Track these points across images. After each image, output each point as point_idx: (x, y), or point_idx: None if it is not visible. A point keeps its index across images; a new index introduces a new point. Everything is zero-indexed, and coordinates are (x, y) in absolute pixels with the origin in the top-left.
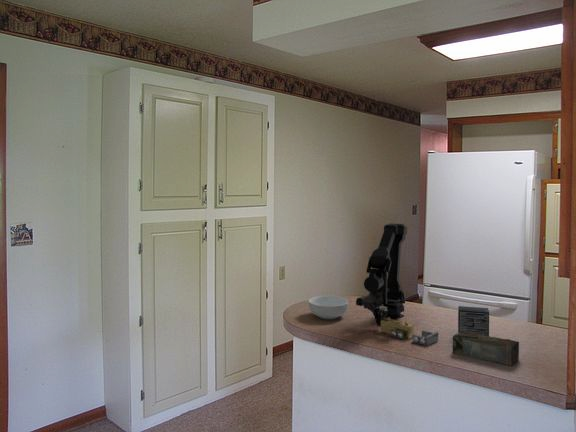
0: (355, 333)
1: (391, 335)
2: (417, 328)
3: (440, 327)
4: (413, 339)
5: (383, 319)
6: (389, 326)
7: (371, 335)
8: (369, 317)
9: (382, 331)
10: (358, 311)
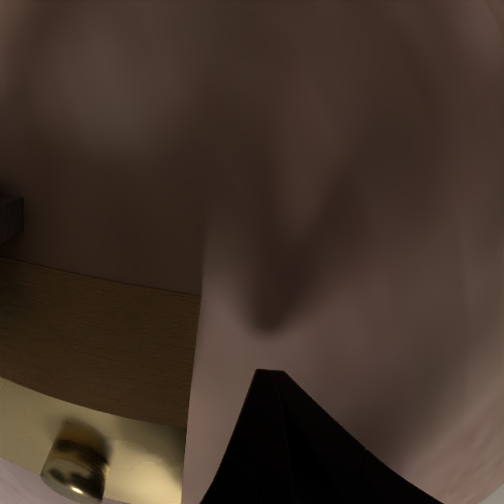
0: (445, 62)
1: (8, 199)
2: None
3: (10, 486)
4: None
5: (171, 468)
6: (22, 323)
7: (248, 64)
8: None
9: (176, 296)
10: (456, 483)
